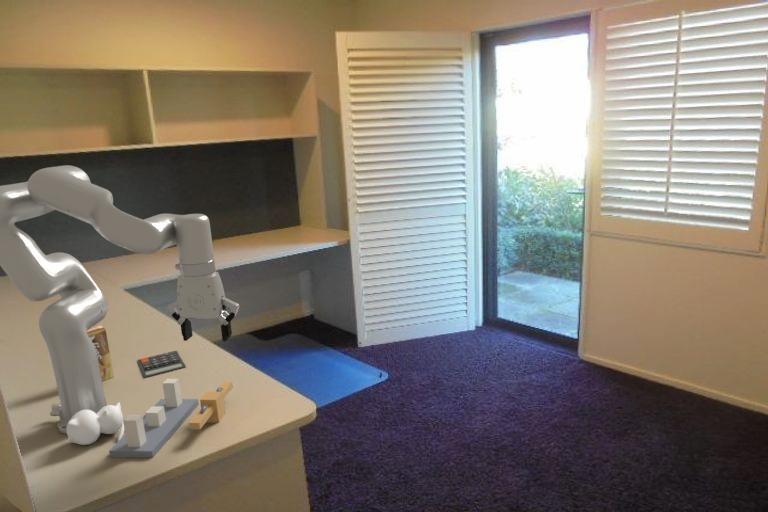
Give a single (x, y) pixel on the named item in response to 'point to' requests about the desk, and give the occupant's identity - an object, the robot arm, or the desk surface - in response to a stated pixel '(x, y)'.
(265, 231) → the desk surface
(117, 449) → the display stand
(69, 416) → the robot arm
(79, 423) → the cat figurine
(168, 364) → the calculator
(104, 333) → the candy box
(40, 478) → the desk surface
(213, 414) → the tan bar with handles
